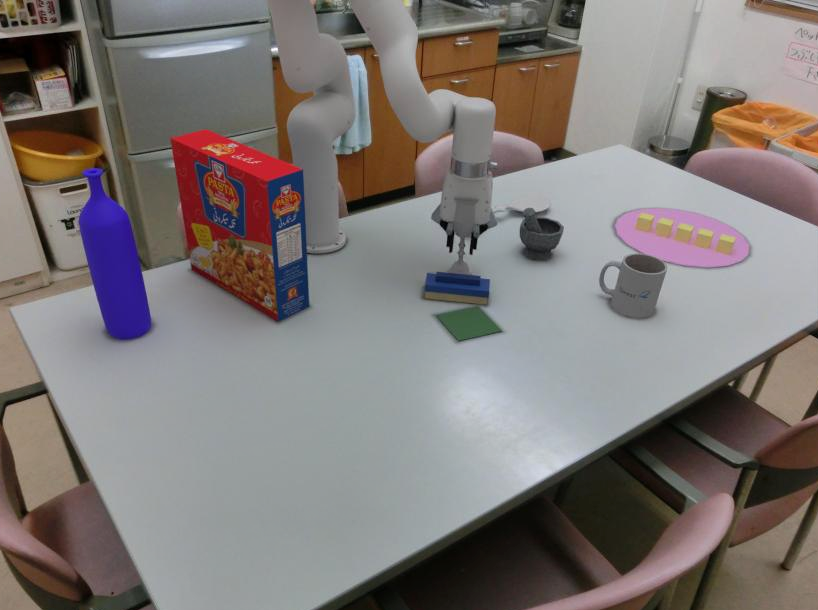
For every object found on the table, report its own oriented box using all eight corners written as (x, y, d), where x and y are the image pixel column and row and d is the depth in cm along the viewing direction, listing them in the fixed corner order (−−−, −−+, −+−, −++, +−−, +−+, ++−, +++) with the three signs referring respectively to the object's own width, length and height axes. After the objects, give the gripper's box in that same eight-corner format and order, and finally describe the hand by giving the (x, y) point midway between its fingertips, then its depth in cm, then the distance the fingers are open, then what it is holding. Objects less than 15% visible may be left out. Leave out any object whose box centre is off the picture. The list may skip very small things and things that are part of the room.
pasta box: (191, 270, 145) (170, 138, 128) (222, 257, 150) (206, 129, 133) (278, 322, 131) (266, 181, 114) (309, 306, 136) (303, 169, 119)
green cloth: (458, 341, 129) (458, 340, 129) (435, 315, 135) (436, 314, 135) (501, 331, 132) (501, 330, 132) (478, 306, 139) (478, 306, 139)
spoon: (440, 227, 167) (442, 214, 165) (531, 199, 183) (533, 186, 181) (465, 241, 162) (467, 228, 159) (556, 211, 178) (559, 198, 176)
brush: (423, 299, 140) (425, 278, 137) (426, 286, 144) (427, 266, 141) (487, 305, 139) (490, 285, 136) (487, 293, 143) (490, 272, 140)
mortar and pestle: (538, 240, 164) (547, 192, 157) (566, 256, 158) (577, 207, 151) (503, 251, 159) (510, 202, 151) (530, 268, 153) (539, 218, 145)
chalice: (441, 265, 150) (447, 186, 140) (472, 265, 151) (480, 186, 140) (446, 282, 145) (452, 201, 134) (477, 281, 145) (486, 201, 134)
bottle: (162, 321, 129) (131, 166, 111) (134, 345, 123) (96, 184, 105) (125, 312, 131) (88, 158, 113) (96, 334, 125) (52, 175, 107)
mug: (661, 308, 142) (675, 265, 135) (639, 322, 137) (653, 278, 131) (610, 284, 148) (621, 242, 142) (588, 298, 143) (598, 255, 137)
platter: (734, 281, 152) (739, 268, 150) (596, 241, 165) (599, 228, 163) (760, 231, 174) (765, 218, 172) (637, 198, 187) (640, 186, 185)
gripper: (512, 163, 136) (500, 246, 147) (429, 155, 137) (423, 239, 148) (512, 177, 130) (500, 263, 141) (425, 169, 131) (420, 255, 142)
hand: (461, 250), depth 145 cm, fingers closed on chalice, 3 cm apart
